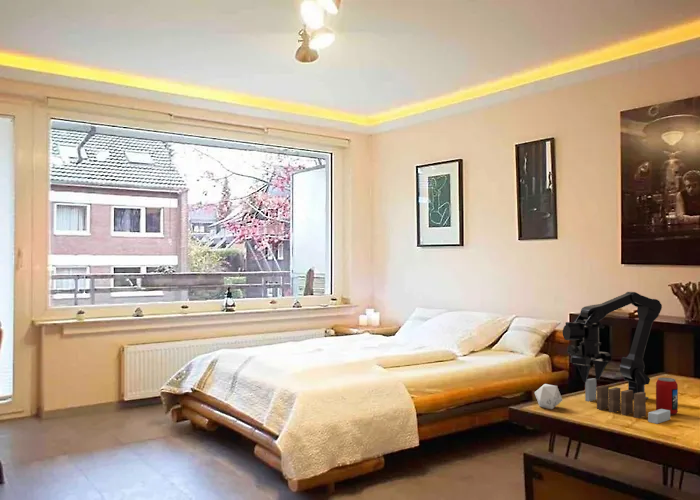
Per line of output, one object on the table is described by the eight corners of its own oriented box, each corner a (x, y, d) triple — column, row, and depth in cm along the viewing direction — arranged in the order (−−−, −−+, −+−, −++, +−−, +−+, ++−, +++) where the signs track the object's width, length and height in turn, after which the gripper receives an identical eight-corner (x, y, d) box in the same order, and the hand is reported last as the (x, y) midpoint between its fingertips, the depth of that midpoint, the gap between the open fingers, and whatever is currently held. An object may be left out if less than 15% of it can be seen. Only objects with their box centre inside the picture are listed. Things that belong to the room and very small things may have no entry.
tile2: (608, 411, 215) (608, 389, 215) (616, 409, 218) (616, 387, 218) (613, 412, 214) (613, 389, 214) (620, 410, 217) (620, 388, 217)
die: (540, 412, 216) (558, 391, 214) (525, 395, 224) (542, 375, 221) (553, 417, 221) (571, 397, 219) (539, 400, 228) (556, 381, 226)
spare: (585, 400, 232) (585, 379, 232) (592, 399, 235) (592, 378, 235) (589, 401, 231) (589, 380, 231) (596, 399, 234) (596, 378, 234)
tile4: (633, 417, 208) (633, 393, 208) (641, 415, 211) (641, 391, 211) (638, 418, 206) (638, 394, 207) (645, 415, 209) (645, 392, 210)
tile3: (621, 414, 211) (621, 391, 211) (628, 412, 214) (628, 389, 214) (625, 415, 210) (625, 392, 210) (632, 413, 213) (632, 390, 213)
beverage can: (680, 416, 209) (680, 381, 209) (659, 415, 211) (659, 380, 211) (674, 411, 216) (674, 377, 216) (653, 410, 217) (653, 376, 217)
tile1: (596, 409, 218) (596, 387, 218) (604, 407, 221) (604, 385, 222) (601, 410, 217) (601, 387, 217) (608, 408, 220) (608, 386, 220)
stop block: (661, 417, 207) (661, 408, 207) (670, 419, 205) (670, 410, 205) (648, 421, 202) (648, 412, 202) (657, 423, 199) (657, 414, 199)
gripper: (585, 335, 245) (585, 374, 245) (558, 339, 234) (558, 380, 234) (611, 338, 236) (611, 378, 236) (584, 342, 225) (585, 385, 225)
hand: (591, 380), depth 233 cm, fingers open, 9 cm apart
